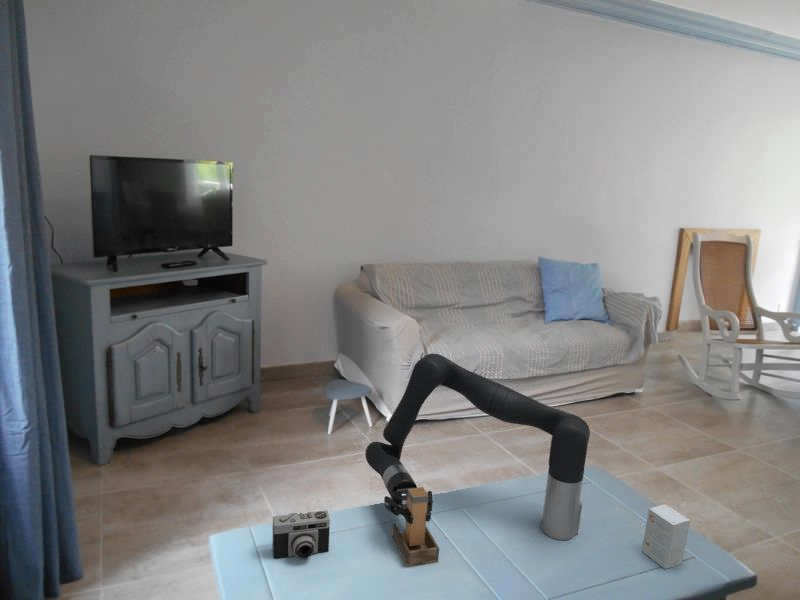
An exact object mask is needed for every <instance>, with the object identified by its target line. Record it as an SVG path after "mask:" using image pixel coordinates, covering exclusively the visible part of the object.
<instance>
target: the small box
mask: <svg viewBox="0 0 800 600" xmlns="http://www.w3.org/2000/svg"><path fill="white" fill-rule="evenodd" d="M690 523H691V519H689V518H687V517H686V516H684V515H683V514H681V513H679V512H678V511H676V510H675V509H673V508H672V507H671V506H668V505H667V504H666V503H665V504H660V505H657V506H654V507H650V508H648V513H647V518H646V523H645V530H644V535H643V540H642V541H643V542H642V547H641V552H642V553H643V554H644V555H646V556H648V557H649V558H650V559H651V560H652V561H654V562H655V563H657V564H658V565H659V566H660V567H662V568H663V569H664V570H667V569H671V568H673V567H676V566H679V565H681V564H683V559H684V556H685V555H684V554H685V550H686V545H687V539H688V534H689V528H690Z"/></svg>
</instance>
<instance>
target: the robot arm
mask: <svg viewBox="0 0 800 600" xmlns="http://www.w3.org/2000/svg"><path fill="white" fill-rule="evenodd" d="M412 368H413V369H412V371H411V375H410V378H409V380H408V383H407V386H406V387H405V390H404V393H403V395H402V397H401V399H400V400H399V403H398V405H397V406H396V408H395V410H394V412H393V413H392V414H391V417H390V418H389V419H388V422H387V424H386V425H385V427H384V428H383V431H382V435H383V438H384V440H385V441H386V442H387V443H384V442H381V441H372V442H370V443H369V444H368V445H367V446H366V448H365V459H366V462H367V464H368V465H369V467H371V468H372V470H373V471H375V472H376V473H377V474H379V475H380V478H381V479H382V480H383V483H384V486H385V490H387V492H388V494H389V496H388V495H387V496H386V495H385V496H384V500H383V507H385V509H387V510H389V512H391V513H392V514H393V515H394V516H395V517H399V516H400V515H401V516H402V517H403V518H404V520H405V522H406V521H407V522H409V524H413V515H412V514H411V512H410V511H409V509H407V498H408V495H407V491H408V489H411V488H418V486H417V484H416V482H415V481H414V479H413V478H412V476H411V474H410V473H409V471H408V470H407V469H406V468H405V467H404V464H403V463H402V461H401V458H402V457H401V456H402V451H403V448H404V445H405V441H406V439H407V438H408V436H409V434H410V433H411V431H412V429H413V427H414V425H415V423H416V421H417V418H418V415H419V413H420V410H421V408H422V406H423V404H424V403H425V401H426V400H427V399H428V398H429V396H430V395H431V394H432V392H434V391H435V389H436V388H438V387H440V386H443V387H445V388H448V389H450V390H453V391H455V392H456V393H459V394H460V395H461V396H463V397H464V398H466V400H468V401H469V402H470V403H471V404H472V405H473V406H474V407H475V408H477V410H479V411H480V412H483V413H484V414H486V415H487V416H491V417H493V419H497V420H499V421H501V422H504V423H507V424H508V423H509V424H513V425H514V424H515V425H519V426H520V425H522V426H528V427H532V428H536V429H538V430H541V431H543V432H544V433H547V434H549V435H551V441H550V448H549V457H548V472H547V478H546V479H547V480H546V486H545V487H546V488H545V495H544V502H543V510H542V518H541V524H540V526H541V528H540V529H541V530H542V532H543V533H544V534H545V535H546V536H548V537H550V538H553V539H555V540H560V541H566V540H571V539H572V538H574V537H575V536H576V535H578V534H579V530H580V522H581V515H582V509H583V502H582V501H581V495H582V487H583V480H584V476H585V475H584V474H585V465H586V458H587V453H588V451H587V450H588V445H589V440H590V435H591V429H590V427H589V425H588V423H587V422H586V421H585V420H584V419H583V418H582V417H580V416H578V415H575V414H573V413H569V412H568V411H564V410H560V409H558V408H555V407H552V406H549V405H546V404H544V403H542V402H540V401H538V400H536V399H533V398H531V397H529V396H528V395H524V394H523V393H521V392H519V391H516V390H514V389H512V388H510V387H507V385H503V384H502V383H499V382H497V381H494V380H492V379H489V378H487V377H485V376H483V375H480V374H477V373H475V372H472V371H470V370H468V369H467V368H464V367H462V366H461V365H459V364H457V363H456V362H454V361H452V360H450V359H449V358H447V357H445V356H444V355H441V354H438V353H429V354H426V355H424V356H422V357H421V358H420V359H418V361H417V362H415V363H414V366H413V367H412ZM388 443H389V444H388ZM426 493H427V494H428V496H429V498H428V504H427V513H426V523H429V522H430V521H431V518H432V510H433V503H434V502H433V491H431V490H428V491H427V492H426Z"/></svg>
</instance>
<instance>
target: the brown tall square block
mask: <svg viewBox="0 0 800 600" xmlns="http://www.w3.org/2000/svg"><path fill="white" fill-rule="evenodd" d="M427 493H428V492H427V491H426V490H425V487H424V486H422V487H421V486H420V487H417V488H411V489H408V491H407V495H408V498H407V509H409V511H410V512H411V514H412V515H413V524H409V522H407V521H406V520H405V528H404V530H405V531H404V532H405V538H406V540H407V542H408V544H409V546H415V545H421V544H424V540H425V528H426V527H427V521H426V513H427V504H428V498H429V496H428V494H427Z"/></svg>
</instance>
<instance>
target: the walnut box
mask: <svg viewBox="0 0 800 600" xmlns="http://www.w3.org/2000/svg"><path fill="white" fill-rule="evenodd" d="M392 539H393V541H394V543H395V545H396V548H397V549H398V551H399V553H400V555H401V557H402V560H403V561H404V563H405V565H406V568H410V567H416V566H422V565H429V564H433V563H434V564H436V563H439V557H440V556H439V554H440V547H439V545H438V544H437V542H436V540H435V539H434V537H433V535H432V533H431V532H430V530H429V529H428V526H426V528H425V540H424V544H421V545H415V546H409V544H408V542H407V540H406V538H405V531H403V532H401V531H400V530H399V527H398V526H397V524H396V522H393V523H392Z"/></svg>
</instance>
